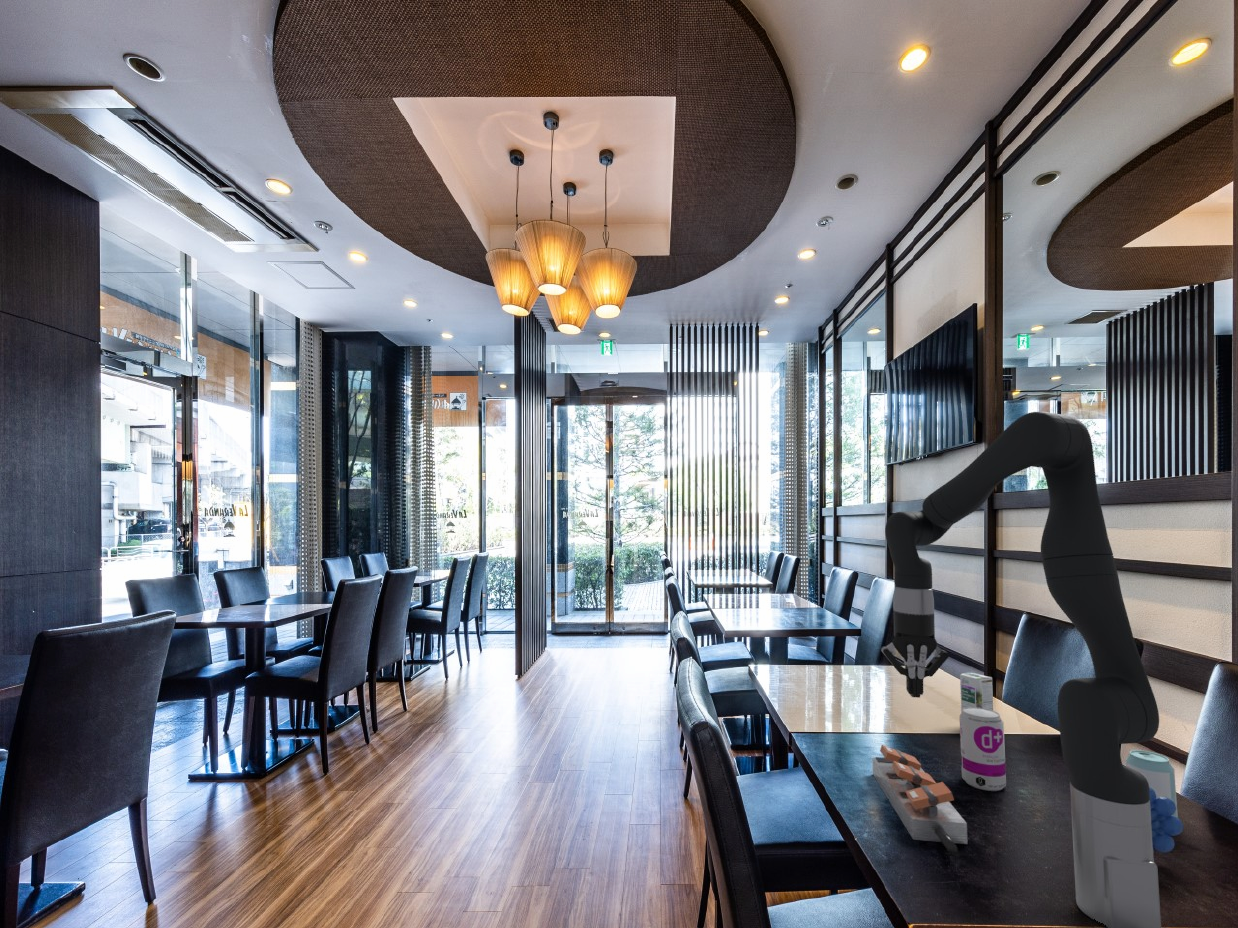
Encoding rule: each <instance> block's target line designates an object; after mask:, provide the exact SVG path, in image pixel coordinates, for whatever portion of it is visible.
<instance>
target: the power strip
mask: <svg viewBox="0 0 1238 928" xmlns="http://www.w3.org/2000/svg"><path fill="white" fill-rule="evenodd" d="M892 765H893V761H890V760H888V759H885V757H881V756H880V757H879V756H878V757H877V756H876V757H872V775H873V777H874V778H875V780H876V781H877V784H878V785H879V787H880V788H881V790H882V791H883V793H884V794H885V796H886V798H887V799H889V800H888V801H889V803H890V805H891V806H892V808H893V809H894V812H896V813H897V815H898V817H899V819H900V820H901V822H902V825H904V827H905V829H906V830H907V831H908V833H909V836H910V837H911V838H912V840H917V841H926V842H927V841H928V842H938V843H942V844H943V846H944V848H946V851H947V852H948V853H949V854H950V855H954V856H955V855H957V854H958V852H959V849H958V847H957V845H956V844H959V845H961V844H962V845H963V844H964V845H968V823H967V822H966V820H965V819H964V818H963V817H962V815H961V814H960V813H959V812H958V810H957V809H956V808H955V807H954V805H952V803H951V801H948V802H944V803H940V804H938V805H936V806H928V807H924V808H920V809H915V808H914V806H913V805H912V804H911V802H910V801H909V799H908V797H907V794H906V791H908V790H912V789H916V788H920V787H922V785H916V784H914V783H913V782H911V781H909V780H906V779H904V778H901V777H898V776H897V774H896V773H895V771H894V770H893V768H892ZM920 771H922V772H924V773H926V772H925V771H924V769H923V768H922V767H921V768H920Z"/></svg>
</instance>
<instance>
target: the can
mask: <svg viewBox="0 0 1238 928" xmlns="http://www.w3.org/2000/svg"><path fill="white" fill-rule="evenodd" d="M1125 766H1126V767H1129V768H1131V769H1133V770H1135V771H1137V772H1139V773H1141V774H1142V775H1143V776H1144V777H1145V778H1146V779H1147V781H1148V784H1149V787H1151V788H1152V789H1153V790H1154V791H1155V793H1156V799H1157V798H1159V797H1166V798H1169V799H1171V800H1172V801H1173V802H1174V803H1175V806H1176V810H1175V813H1174V814H1173V815H1171V816H1174V817H1177V818H1178V819H1179V817H1178V816H1179V815H1178V803H1177V790H1176V789H1177V787H1176V786H1177V785H1176V775H1175V772H1176V771H1175V768H1174V767H1173V765H1172V764H1171V763H1170V759H1169V758H1168V757H1167V756H1165V755H1162V754H1159V753H1156V752H1153V751H1149V750H1143V749H1142V750H1140V749H1137V750H1136V749H1134V750H1133V749H1132V750H1130V751H1129V755H1128V756H1127V757H1126V759H1125Z"/></svg>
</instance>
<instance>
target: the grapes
mask: <svg viewBox="0 0 1238 928" xmlns="http://www.w3.org/2000/svg"><path fill="white" fill-rule="evenodd" d="M1149 790H1150V809H1151V827H1152V843H1153V854H1154V853H1155V851H1158V852H1160V853H1169V852H1171V851H1172V850H1173V849H1174V848H1175V841H1174V838H1173V837H1172V836H1175V837H1176V836H1178V835H1180V834H1181V833H1182V832H1183V829H1184V825H1183V822H1182V820H1181V819H1180V818H1179V817H1178V818H1177V817H1174V816H1171V815H1173V814H1174V813H1175V810H1176V806H1175V803H1174V802H1173V801H1172V800H1171V799H1169V798H1166V797H1159V798H1157V799H1156V793H1155V791H1154V790H1153V789H1152V788H1151V787H1149ZM1154 849H1155V850H1154Z"/></svg>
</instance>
